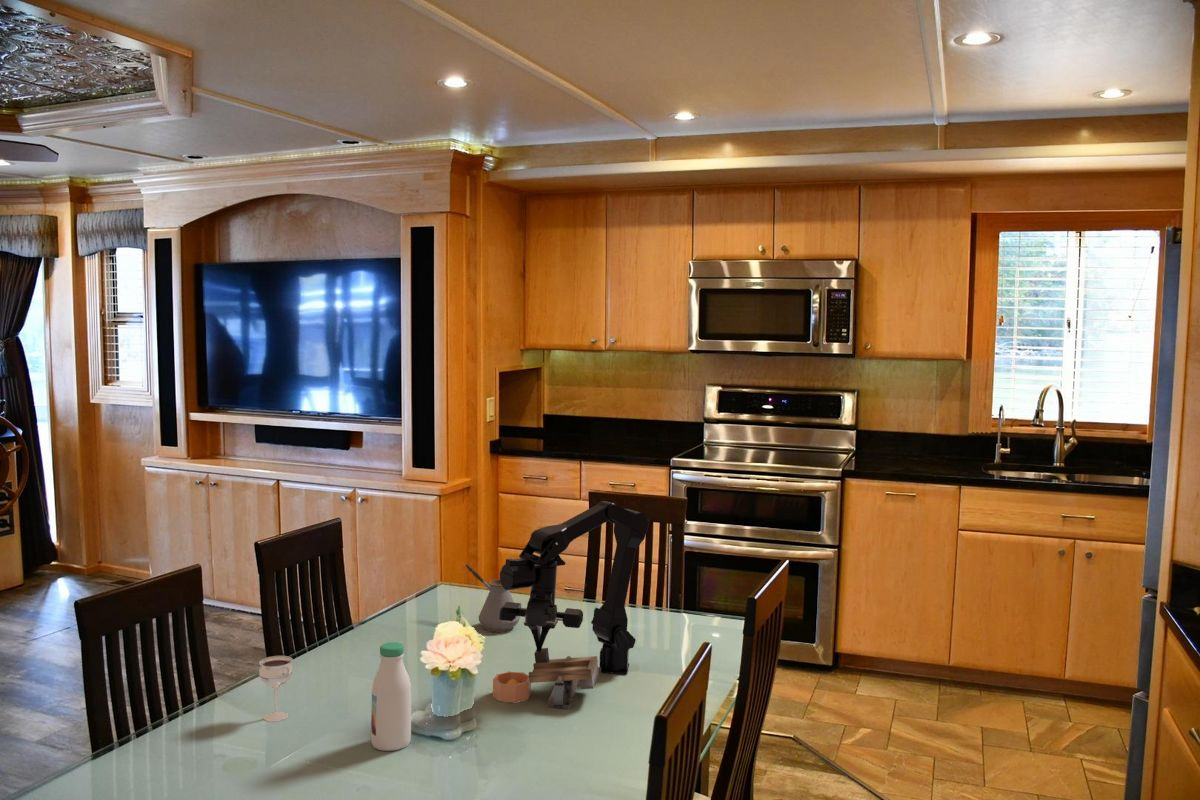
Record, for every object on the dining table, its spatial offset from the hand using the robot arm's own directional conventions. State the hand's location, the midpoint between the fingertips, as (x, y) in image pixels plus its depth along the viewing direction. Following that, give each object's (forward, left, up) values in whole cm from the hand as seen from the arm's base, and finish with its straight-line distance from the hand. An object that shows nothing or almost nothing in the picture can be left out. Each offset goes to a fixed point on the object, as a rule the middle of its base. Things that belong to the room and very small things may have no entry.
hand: (539, 650), depth 212 cm
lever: (-7, +3, -6) cm, 9 cm away
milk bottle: (+24, +33, -9) cm, 42 cm away
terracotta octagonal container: (+5, +6, -9) cm, 12 cm away
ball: (+5, +6, -7) cm, 10 cm away
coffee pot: (+23, -44, -9) cm, 50 cm away
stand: (-6, +3, -9) cm, 11 cm away
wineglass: (+52, +25, -9) cm, 58 cm away
